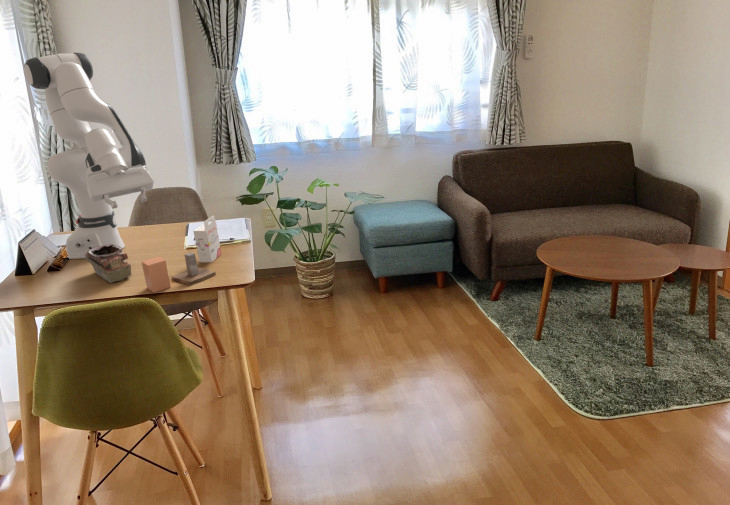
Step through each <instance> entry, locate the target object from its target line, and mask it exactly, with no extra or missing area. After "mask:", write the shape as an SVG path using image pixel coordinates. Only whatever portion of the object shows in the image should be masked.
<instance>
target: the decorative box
mask: <svg viewBox="0 0 730 505" xmlns="http://www.w3.org/2000/svg"><path fill="white" fill-rule="evenodd" d="M122 249H123V248H122V247H120V246H119V245H114V244H108V245H103V246H98V247H96V248H93V249H91V250H89V251H87V252H86V253H85V258H84V259H85V260H86V261H87V262H88V263H89V264H90V265H91V266H92V268H93V270H94V272H95V273H96V275H97V276H99V277H101V278H102V279H104V280H105V281H107V283H110V284H112V283H114V282H118V281H119V282H120V280H121V281H123V280H124V279H126V278H128V277H131V276H132V265H131V263H130V262H128V261H127V260H128V259H129V256H128V253H127V252H124V251H122Z"/></svg>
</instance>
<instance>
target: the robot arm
mask: <svg viewBox="0 0 730 505" xmlns="http://www.w3.org/2000/svg"><path fill="white" fill-rule="evenodd" d="M23 70H24V72H23V73H24V76H25V78H26V80H27V82H28V84H29V85H30V86H31V87H33V88H34V89H37V90H39V89H40V90H44V93H45V94H44V95H45V100H46V105H47V109H48V112H49V114H50V118H51V120H52V124H53V126H54V129H55V131H56V134H57V135H58V136H59V138H61V139H62V140H64V141H69V142H72V143H73V144H75V145H77V147H78V148H75V149H70V150H66V151H61V152H58V153H56V154H54V155H51V156H49V158H48V160H47V164H46V169H47V172H48V175H49V176H50V178H52V180H53V181H55V182H57V183H59V184H61V185H64V186H65V187H66V188H67V189H69V191H71V193H72V194H73V196H74V198H75V200H76V203H77V206H78V209H79V212H80V213H79V214H80V215H79V216H78V218H76V220H75V224H76V225H78V227H77V228H76V229H74V231H73V232H72V233H70V235H69V236H68V237H67V239H66V241H65V250H66V251H67V254H68V256H67V257H68V258H69V260H73V259H75V260H76V259H86V258H85V253H86V252H87V251H89V250H91V249H93V248H96V247H98V246H103V245H108V244H114V245H119V246H120V247H122V249H124V248H125V247H126V245H125V243H124V241H123V239H122V237H121V235H120V232H119V229H118V227H117V225H118V222H117V217H116V214H115V211H114V210H113V209H117V208H118V204H117V201H116V200H113V199H112V198H117V197H122V196H126V195H131V194H134V193H139V192H140V195H139V196H140V197H139V199H140V202H141V203H143V202H144V203H145V202H147V200H148V198H147V196H146V191H148V190H149V191H150V190H152V189H153V188H154V185H155V180H154V178H153V176H152V175H151V174H150V172H149V169H148V167H147V163H146V159H145V156H144V154H143V152H142V150H141V149H140V148H139V146H138V145H137V143H135V141H134V139H133V137H132V136H131V134H130V133H129V130H127V128H126V126H125V124H124V122H123V121H122V119H121V118H120V117H119V115H118V113H117V112H116V110H115V109H114V107H113V106H112V105H110V103H107V102H104V101H103V100H102V99H100V98H99V96H98V95H97V94H96V92H95V89H94V87H93V85H92V83H91V80H92V79H93V76H94V70H93V64H92V62H91V59H90V58H89V57H88V56H87V55H86V54H85V53H82V52H73V53H68V52H67V53H66V52H65V53H54V54H50V55H48V54H47V55H43V56H39V57H37V56H35V57H32V58H29V59H27V60H26V61H25V63H24V69H23ZM90 123H96V124H101V125H104V126H107V127H108V128H109V129H110V130H111V131H112V133H113V135H114V137H115V138H116V140H117V141H118V143H119V145H120V146H121V147H120V148H119V146H118V144H117V142H116V141H115V139H114V137H113V136H112V134H111V133H110V132H109V130H107V129H106V128H103V127H102V128H95V129H92V128H91V125H90Z"/></svg>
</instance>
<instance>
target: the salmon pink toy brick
mask: <svg viewBox="0 0 730 505" xmlns="http://www.w3.org/2000/svg"><path fill="white" fill-rule="evenodd" d="M141 266H142V271H143V274H144V280H145V285H146V288H147V289H148V290H149V291H151V292H152V293H157V292H159V291H163V290H165V289H169V288H171V287H172V286H171V281H170V277H169V272H168V266H167V262H166V259H164V258H162V257H160V256H155V257H152V258H148V259H146V260H145V259H144V260H142V261H141Z"/></svg>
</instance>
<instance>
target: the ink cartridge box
mask: <svg viewBox="0 0 730 505" xmlns="http://www.w3.org/2000/svg"><path fill="white" fill-rule="evenodd" d="M192 232H193V236H194V241H195V246H196V250H197V255H198V256H197V257H198V261H199V263H213V262H214V261H215V260H216V259H217V258H218V257H220V256H221V255H222V249H221V244H220V243H221V242H220V238H219V232H218V227H217V222H216V218H215V215H212V216H210V217H209V218H207V219H206V220H205V221H203V223H202V224H201V225H200V226H198V227H197V228H196V229H194V230H193V231H192Z"/></svg>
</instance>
